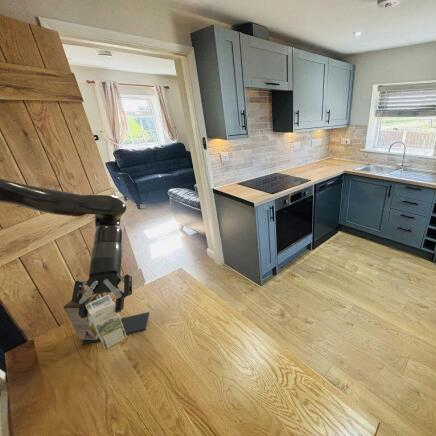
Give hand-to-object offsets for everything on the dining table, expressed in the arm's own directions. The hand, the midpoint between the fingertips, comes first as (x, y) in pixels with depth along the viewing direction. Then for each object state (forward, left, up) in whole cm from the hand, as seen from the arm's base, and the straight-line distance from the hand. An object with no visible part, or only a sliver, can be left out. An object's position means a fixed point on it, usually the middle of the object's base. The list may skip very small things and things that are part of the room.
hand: (101, 315), depth 67 cm
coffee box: (-13, +21, -24) cm, 35 cm away
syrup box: (0, +1, -11) cm, 11 cm away
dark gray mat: (-6, +20, -25) cm, 32 cm away
